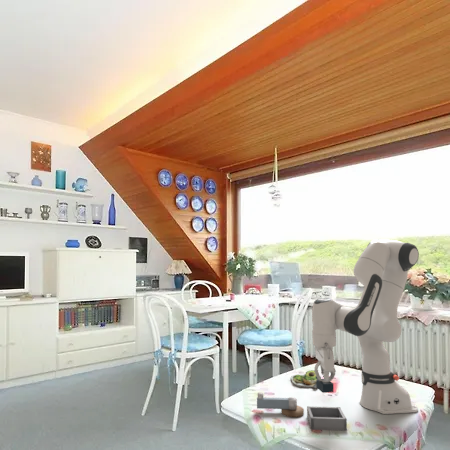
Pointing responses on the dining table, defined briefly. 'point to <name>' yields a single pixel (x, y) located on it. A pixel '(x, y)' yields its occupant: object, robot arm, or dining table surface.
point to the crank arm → (276, 403)
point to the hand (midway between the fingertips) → (324, 376)
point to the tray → (326, 418)
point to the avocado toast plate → (305, 379)
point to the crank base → (293, 412)
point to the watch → (324, 380)
